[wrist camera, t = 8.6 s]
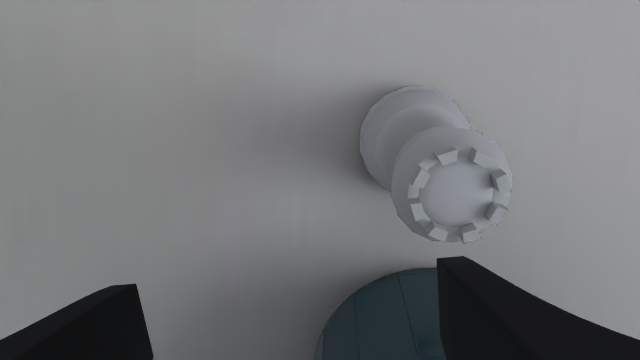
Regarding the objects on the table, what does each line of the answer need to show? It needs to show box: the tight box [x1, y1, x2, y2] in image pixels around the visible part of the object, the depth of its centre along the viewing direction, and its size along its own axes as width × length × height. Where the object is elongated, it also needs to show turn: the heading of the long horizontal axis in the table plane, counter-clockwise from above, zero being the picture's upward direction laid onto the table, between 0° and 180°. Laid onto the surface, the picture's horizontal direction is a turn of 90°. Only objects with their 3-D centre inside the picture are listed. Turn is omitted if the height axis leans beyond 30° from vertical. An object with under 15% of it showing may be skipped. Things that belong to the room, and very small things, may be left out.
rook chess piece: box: [359, 86, 513, 244], centre depth 15 cm, size 4×4×8 cm
